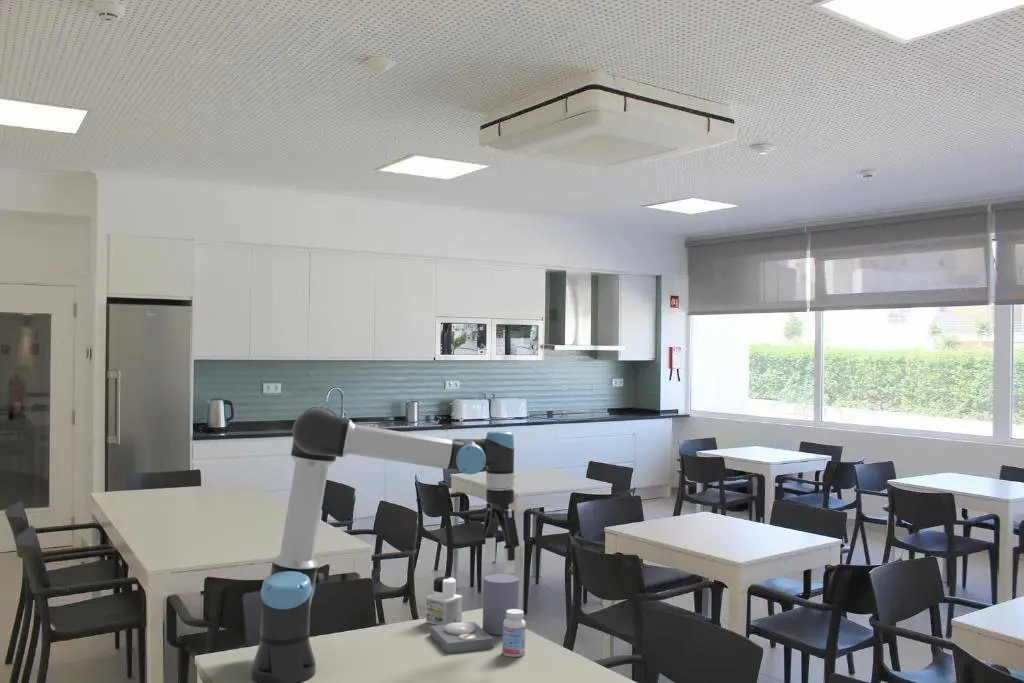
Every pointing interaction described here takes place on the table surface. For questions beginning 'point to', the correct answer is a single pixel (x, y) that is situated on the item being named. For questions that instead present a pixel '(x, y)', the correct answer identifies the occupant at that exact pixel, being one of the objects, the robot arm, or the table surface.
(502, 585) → the container
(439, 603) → the container
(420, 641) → the table surface
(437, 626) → the scale
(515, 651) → the pill bottle
